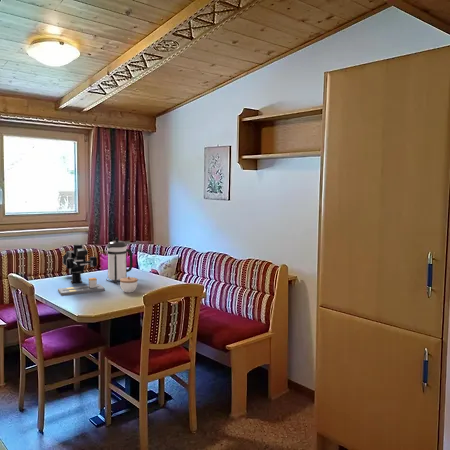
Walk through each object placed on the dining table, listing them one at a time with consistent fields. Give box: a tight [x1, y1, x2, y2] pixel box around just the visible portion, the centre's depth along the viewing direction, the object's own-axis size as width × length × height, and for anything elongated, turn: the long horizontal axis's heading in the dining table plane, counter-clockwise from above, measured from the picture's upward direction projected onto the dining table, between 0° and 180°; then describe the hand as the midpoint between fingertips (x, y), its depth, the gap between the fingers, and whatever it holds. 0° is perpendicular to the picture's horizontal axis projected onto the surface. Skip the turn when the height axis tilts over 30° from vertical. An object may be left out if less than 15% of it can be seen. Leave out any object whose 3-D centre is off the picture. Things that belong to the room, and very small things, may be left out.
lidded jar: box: [119, 276, 139, 293], centre depth 285 cm, size 11×11×9 cm
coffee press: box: [106, 237, 134, 284], centre depth 313 cm, size 17×16×30 cm
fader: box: [88, 277, 98, 288], centre depth 288 cm, size 4×4×5 cm
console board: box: [57, 283, 106, 296], centre depth 285 cm, size 12×26×2 cm, turn 120°
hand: (84, 264), depth 283 cm, fingers open, 9 cm apart
